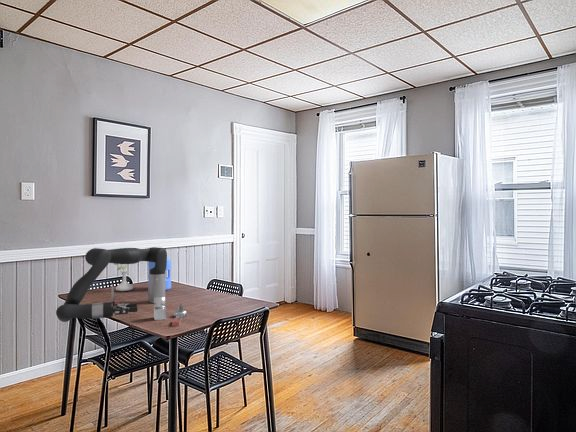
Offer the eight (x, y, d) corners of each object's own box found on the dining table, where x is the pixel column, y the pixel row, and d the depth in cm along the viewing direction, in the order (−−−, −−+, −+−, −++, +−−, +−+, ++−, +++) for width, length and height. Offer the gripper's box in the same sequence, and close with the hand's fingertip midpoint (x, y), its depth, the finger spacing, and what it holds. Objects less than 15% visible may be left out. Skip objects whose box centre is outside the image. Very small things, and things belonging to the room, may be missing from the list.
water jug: (149, 292, 284) (149, 251, 283) (147, 288, 298) (147, 249, 298) (172, 290, 290) (172, 250, 290) (169, 286, 305) (169, 248, 304)
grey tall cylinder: (154, 320, 213) (154, 298, 213) (153, 317, 218) (153, 296, 218) (166, 319, 215) (166, 297, 215) (164, 316, 221) (164, 295, 220)
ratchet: (182, 325, 203) (182, 312, 203) (168, 326, 202) (168, 312, 202) (187, 314, 225) (187, 301, 225) (175, 314, 224) (175, 302, 224)
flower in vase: (126, 288, 296) (126, 253, 296) (136, 290, 290) (136, 254, 289) (109, 291, 286) (109, 255, 285) (119, 293, 279) (119, 256, 279)
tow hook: (116, 309, 237) (120, 305, 246) (115, 287, 236) (120, 283, 245) (100, 310, 235) (105, 305, 245) (100, 287, 235) (105, 284, 244)
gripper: (101, 305, 200) (137, 303, 206) (102, 299, 213) (136, 297, 219) (101, 321, 200) (137, 318, 206) (102, 314, 213) (136, 311, 219)
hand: (137, 307), depth 213 cm, fingers open, 8 cm apart
